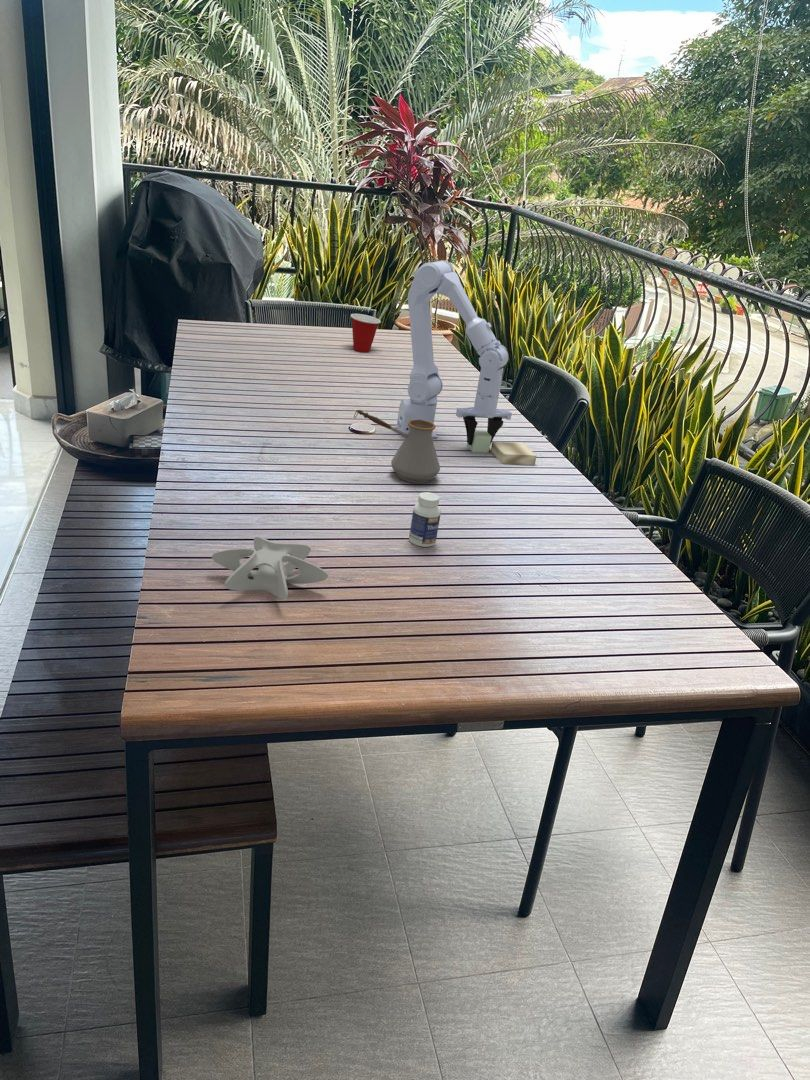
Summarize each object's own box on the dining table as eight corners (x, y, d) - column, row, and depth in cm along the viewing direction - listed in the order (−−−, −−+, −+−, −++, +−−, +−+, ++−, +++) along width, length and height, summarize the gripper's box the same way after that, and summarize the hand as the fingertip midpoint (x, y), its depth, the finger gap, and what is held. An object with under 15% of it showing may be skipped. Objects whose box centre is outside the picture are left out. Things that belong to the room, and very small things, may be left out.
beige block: (501, 465, 212) (503, 454, 210) (490, 452, 219) (492, 441, 218) (534, 466, 214) (536, 455, 213) (521, 453, 222) (524, 443, 221)
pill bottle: (426, 550, 161) (434, 504, 157) (403, 541, 164) (410, 495, 159) (440, 541, 166) (448, 496, 161) (417, 532, 168) (424, 488, 164)
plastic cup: (376, 356, 294) (380, 322, 289) (346, 352, 294) (349, 317, 289) (377, 349, 304) (381, 316, 299) (348, 345, 304) (351, 311, 298)
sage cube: (472, 452, 216) (475, 435, 214) (466, 445, 220) (469, 429, 218) (488, 452, 218) (491, 436, 216) (482, 446, 222) (485, 430, 220)
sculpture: (231, 618, 131) (232, 583, 128) (204, 559, 147) (205, 526, 144) (336, 607, 138) (340, 573, 135) (300, 552, 154) (303, 521, 151)
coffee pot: (433, 469, 202) (443, 409, 195) (442, 487, 191) (452, 425, 185) (345, 462, 198) (352, 401, 191) (349, 481, 187) (357, 417, 181)
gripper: (466, 397, 207) (457, 448, 213) (519, 400, 211) (509, 450, 217) (457, 388, 213) (448, 439, 219) (509, 391, 217) (499, 440, 223)
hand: (478, 444), depth 218 cm, fingers closed on sage cube, 4 cm apart
